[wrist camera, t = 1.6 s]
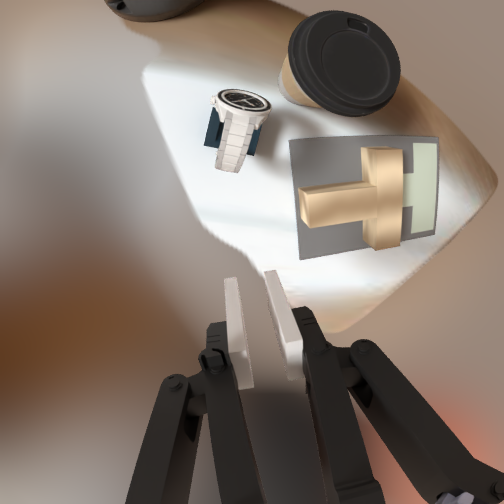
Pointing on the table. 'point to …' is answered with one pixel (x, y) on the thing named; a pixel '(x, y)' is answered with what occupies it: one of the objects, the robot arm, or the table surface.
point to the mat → (350, 169)
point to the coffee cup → (340, 65)
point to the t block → (362, 199)
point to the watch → (235, 126)
